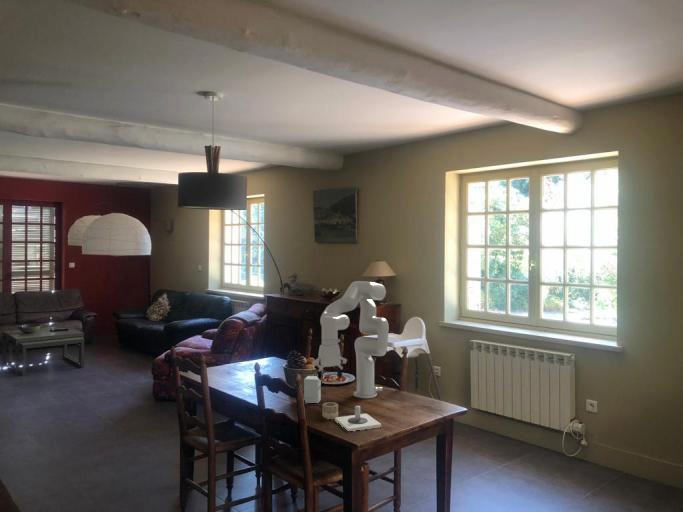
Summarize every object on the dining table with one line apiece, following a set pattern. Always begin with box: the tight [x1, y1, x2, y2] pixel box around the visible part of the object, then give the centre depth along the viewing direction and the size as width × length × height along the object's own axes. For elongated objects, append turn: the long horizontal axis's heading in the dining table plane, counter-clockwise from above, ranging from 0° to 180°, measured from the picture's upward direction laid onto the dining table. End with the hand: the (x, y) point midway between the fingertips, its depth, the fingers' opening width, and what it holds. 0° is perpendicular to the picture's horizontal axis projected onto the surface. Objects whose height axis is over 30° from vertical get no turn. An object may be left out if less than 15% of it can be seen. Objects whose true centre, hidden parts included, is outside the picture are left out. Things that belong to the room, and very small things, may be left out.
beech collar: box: [321, 401, 339, 420], centre depth 258 cm, size 7×7×6 cm
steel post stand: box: [334, 405, 382, 432], centre depth 248 cm, size 16×16×8 cm
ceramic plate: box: [321, 371, 356, 386], centre depth 324 cm, size 26×26×3 cm
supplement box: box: [303, 375, 322, 404], centre depth 282 cm, size 7×7×13 cm
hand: (329, 378), depth 258 cm, fingers open, 9 cm apart
